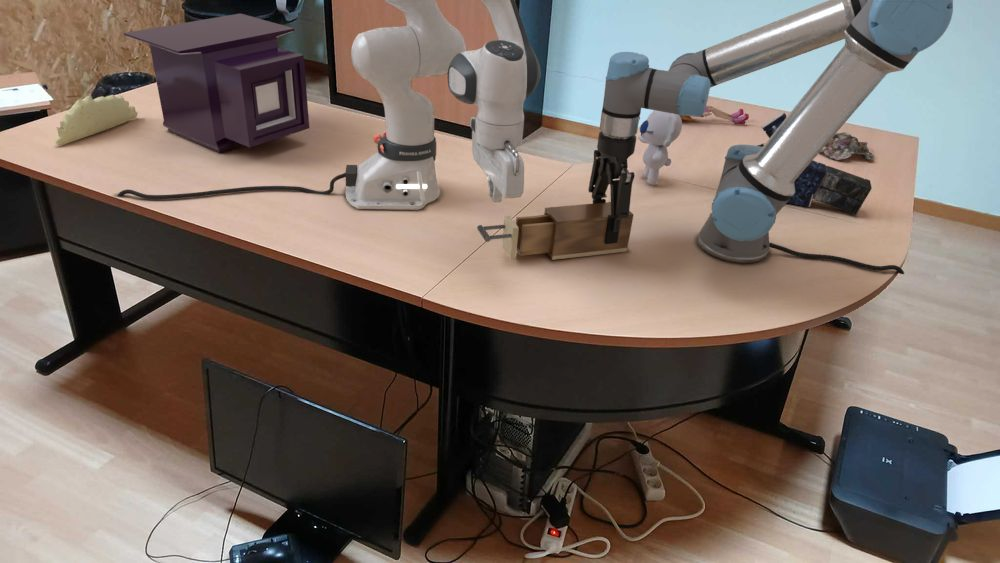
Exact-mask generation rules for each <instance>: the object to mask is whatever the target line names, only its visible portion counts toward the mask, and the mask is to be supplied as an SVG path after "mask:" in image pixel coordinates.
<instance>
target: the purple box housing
mask: <svg viewBox="0 0 1000 563" xmlns="http://www.w3.org/2000/svg"><path fill="white" fill-rule="evenodd" d="M294 31H295V28H294V27H292V26H287V25H283V24H279V23H276V22H272V21H269V20H264V19H262V18H259V17H256V16H255V17H254V16H252V15H247V14H244V13H235V14H230V15H224V16H217V17H212V18H205V19H200V20H194V21H188V22H181V23H175V24H169V25H163V26H157V27H151V28H146V29H145V28H144V29H139V30H134V31H128V32H123V36H125V37H127V38H130V39H133V40H136V41H138V42H142V43H145V44H148V45H149V50H150V54H151V60H152V66H153V71H154V75H155V76H154V77H155V82H156V87H157V92H158V97H159V102H160V107H161V113H162V118H163V122H162V126H163V127H165V128H166V129H167V131H168V132H170V133H172V134H175V135H177V136H179V137H182V138H184V139H187V140H189V141H191V142H193V143H196V144H197V145H200V146H203V147H205V148H207V149H209V150H212V151H215V152H217V153H219V154H220V153H224V152H227V151H229V150H233V149H235V148H237V144H240V145H242V146H245V147H247V148H249V149H250V148H253V147H256V146H259V145H262V144H266V143H269V142H271V141H275V140H278V139H281V138H285V137H287V136H289V135H293V134H296V133H300V132H302V131H305V130H308V129H310V118H309V105H308V94H307V93H308V92H307V80H306V79H307V78H306V68H305V56H304V54H303V53H302V54H301V53H297V52H296V51H295V52H294V51H291V50H288V49H285V48H282V47H279V44H278V40H277V38H280V37H282V36H286V35H287V34H291V33H292V32H294Z"/></svg>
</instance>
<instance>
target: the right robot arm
mask: <svg viewBox="0 0 1000 563" xmlns="http://www.w3.org/2000/svg"><path fill="white" fill-rule="evenodd" d="M953 12H954V0H827V1H824V2H821V3H819V4H816V5H813V6H811V7H809V8H805V9H804V10H801V11H798V12H796V13H793V14H791V15H788V16H786V17H782V18H780V19H778V20H775V21H772V22H770V23H767V24H764V25H763V26H760V27H757V28H755V29H751V30H750V31H747V32H744V33H743V34H742V33H741V34H740V35H737V36H734V37H732V38H730V39H727V40H724V41H722V42H719V43H717V44H714V45H712V46H709V47H707V48H705V49H702V50H699V51H695V52H686V53H683V54H682V55H679V56H678V57H677V58H676V59H675V60H674V61H673V62H672V63H671V65H670V66H669V69H668V70H664V69H657V68H654V67H650V64H649V63H650V60H649V58H648V57H647V55H645V54H642V53H638V52H634V51H633V52H632V51H619V52H616V53H613V55H611V56H610V58H609V62H608V66H607V67H608V68H607V71H606V72H607V73H606V76H605V84H604V94H603V101H602V102H603V103H602V109H601V115H600V122H599V130H600V131H599V133H598V138H597V146H596V148H597V149H594V150H593V161H592V168H591V173H590V179H589V184H588V193H589V194H590V193H591V198H592V204H593V203H604V202H607V200H606V199H605V198H607V197H608V196H607V194H606V193H607V190H608V188H609V187H610V188H609V190H610V193H609V194H610V202H611V215H608V221H607V228H606V235H605V241H604V243H605V244H611V243H617V241H618V235H619V230H620V225H621V219H622V218H628V217H629V211H630V207H631V198H632V190H633V183H634V180H635V172H634V171H631V172H630V171H629V170H628V168H629V167H628V166H629V164H628V159H629V158H630V157H631V156H633V155H634V153H635V151H636V143H637V134H638V131H639V130H638V129H639V122H640V119H641V117H640V116H641V112H642V109H645V110H650V111H651V110H652V111H654V110H656V111H662V112H667V113H673V114H678V115H681V116H690V117H694V118H695V117H696V118H699V116H701V115H702V114H703V113H704V111H705V107H706V105H708V104H707V103H708V100H709V96H710V91H711V89H712V88H713V87H715V86H716V87H717V86H718V85H720V84H723V83H726V82H729V81H732V80H735V79H737V78H740V77H743V76H746V75H749V74H751V73H754V72H757V71H760V70H763V69H765V68H768V67H770V66H773V65H776V64H779V63H781V62H784V61H788V60H790V59H793V58H795V57H798V56H801V55H803V54H807V53H810V52H812V51H815V50H818V49H820V48H823V47H826V46H829V45H831V44H835V43H836V42H837V43H838V42H839V41H840V42H841V41H842V40H844V45H843V46H842V48H841V49H840V50H838V52H837V54H836V55H835V56H834V58H833V59H832V60H831V61H830V63H829V64H828V65H827V66H826V68H825V69H824V70H823V71H822V73H821V74H820V75H819V76H818V77H817V79H816V80H815V81H814V82H813V84H812V85H811V86H810V87H809V89H808V90H807V91H806V93H804V95H803V96H802V97H801V98H800V100H799V101H798V102H797V104H796V105H795V106H794V107H793V109H792V110H791V111H790V113H789V114H788V115H786V119H785V120H784V121H783V122H782V124H781V125H780V126H779V127H778V129H777V130H776V131H775V132H774V134H773V135H772V136H771V137H770V138H768V140H767V141H766V142H765V144H764V146H763V147H760V146H757V145H753V144H734V145H732V146H730V147H729V148H728V149H727V151H726V152H727V153H726V154H725V156H724V159H725V160H724V164H723V168H722V171H721V176H720V179H719V183H718V186H717V189H716V192H715V196H714V198H713V200H712V202H711V212H710V213H709V216H708V218H707V219H706V220H705V223H704V224H703V225H702V227H701V228H700V231H699V234H698V237H697V244H698V245H699V247H700V248H701V249H702V250H703V251H704V252H705V253H707V254H709V255H710V256H712V257H714V258H717V259H719V260H721V261H726V262H730V263H736V264H754V263H755V264H756V263H759V262H761V261H763V260H765V259H766V258H767V257H768V254H769V250H770V248H771V249H774V250H778V251H780V252H783V253H786V254H789V255H791V256H795V257H799V258H804V259H815V260H826V261H835V262H839V263H843V264H848V265H850V266H851V265H852V266H855V267H858V268H862V269H866V270H870V271H877V272H881V271H893V270H894V271H896V272H897V273H898V274H900V275H905V271H904V270H903V268H901V267H900V266H898V265H896V264H887V265H874V264H873V265H872V264H869V263H864V262H860V261H858V260H857V261H856V260H853V259H849V258H845V257H841V256H837V255H830V254H819V253H818V254H816V253H807V252H801V251H798V250H797V251H796V250H794V249H790V248H788V247H786V246H782V245H779V244H777V243H772V242H770V230H772V228H773V226H774V224H775V223H776V220H777V215H778V213H779V212H780V211H781V210H782V209H783V208H784V207H785V205H786V204H788V203H787V202H788V201H789V199H790V198H791V197H792V196H793V195H794V194H795V184H794V182H795V180H796V179H797V178H798V176H799V175H800V174H801V173H802V172H803V171H804V170H805V168H806V167H807V166H808V165H809V164H810V163H811V161H812V160H813V161H814V160H815V158H816V157H817V156H818V155H819V154H820V153H821V152H820V151H821V150H822V149H823V148H824V146H825V145H826V144H827V143H828V142H829V141H830V139H831V138H832V137H833V136H834V135H835V134H836V133H838V132H839V131H840V129H841V128H842V127H843V126H844V125H845V123H846V122H848V121H849V119H850V118H851V117H852V116H853V114H855V112H856V111H857V110H858V108H859V107H860V106H861V105H862V104H863V102H864V101H866V99H867V98H868V97H869V96H870V94H872V92H873V91H874V90H875V89H876V88H877V87H878V85H879V84H880V83H881V82H882V81H883V79H885V78H886V76H887V75H889V74H891V73H895V72H902V71H904V69H906V67H907V66H908V65H909V64H910V62H912V60H914V59H915V57H916V56H917V55H918V54H919V53H920V52H922V51H924V50H927V49H929V48H930V47H932V46H933V45H934V44H935V43H937V42H938V41H939V40H940V39H941V38H942V37H943V35H944V34H945V33H946V32H947V29H948V28H949V25H950V24H951V21H952V18H953Z"/></svg>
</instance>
